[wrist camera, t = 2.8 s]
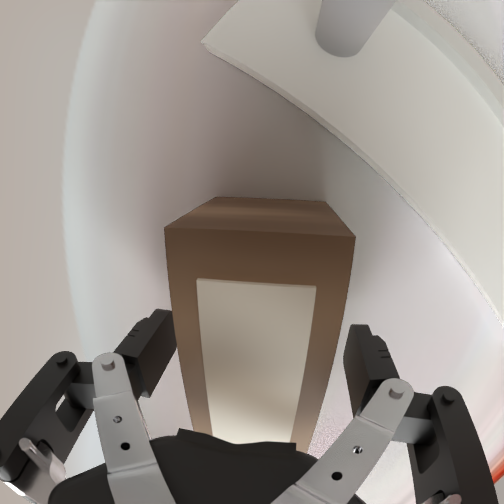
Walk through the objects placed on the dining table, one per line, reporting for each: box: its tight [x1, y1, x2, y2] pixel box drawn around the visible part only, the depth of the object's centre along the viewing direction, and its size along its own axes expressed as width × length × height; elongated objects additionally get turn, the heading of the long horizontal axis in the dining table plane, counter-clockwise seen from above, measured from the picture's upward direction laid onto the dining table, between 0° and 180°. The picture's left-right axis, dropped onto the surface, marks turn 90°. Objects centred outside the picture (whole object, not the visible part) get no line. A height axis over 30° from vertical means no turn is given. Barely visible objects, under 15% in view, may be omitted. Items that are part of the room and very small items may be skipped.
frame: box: [164, 197, 356, 453], centre depth 12 cm, size 12×5×6 cm, turn 179°
